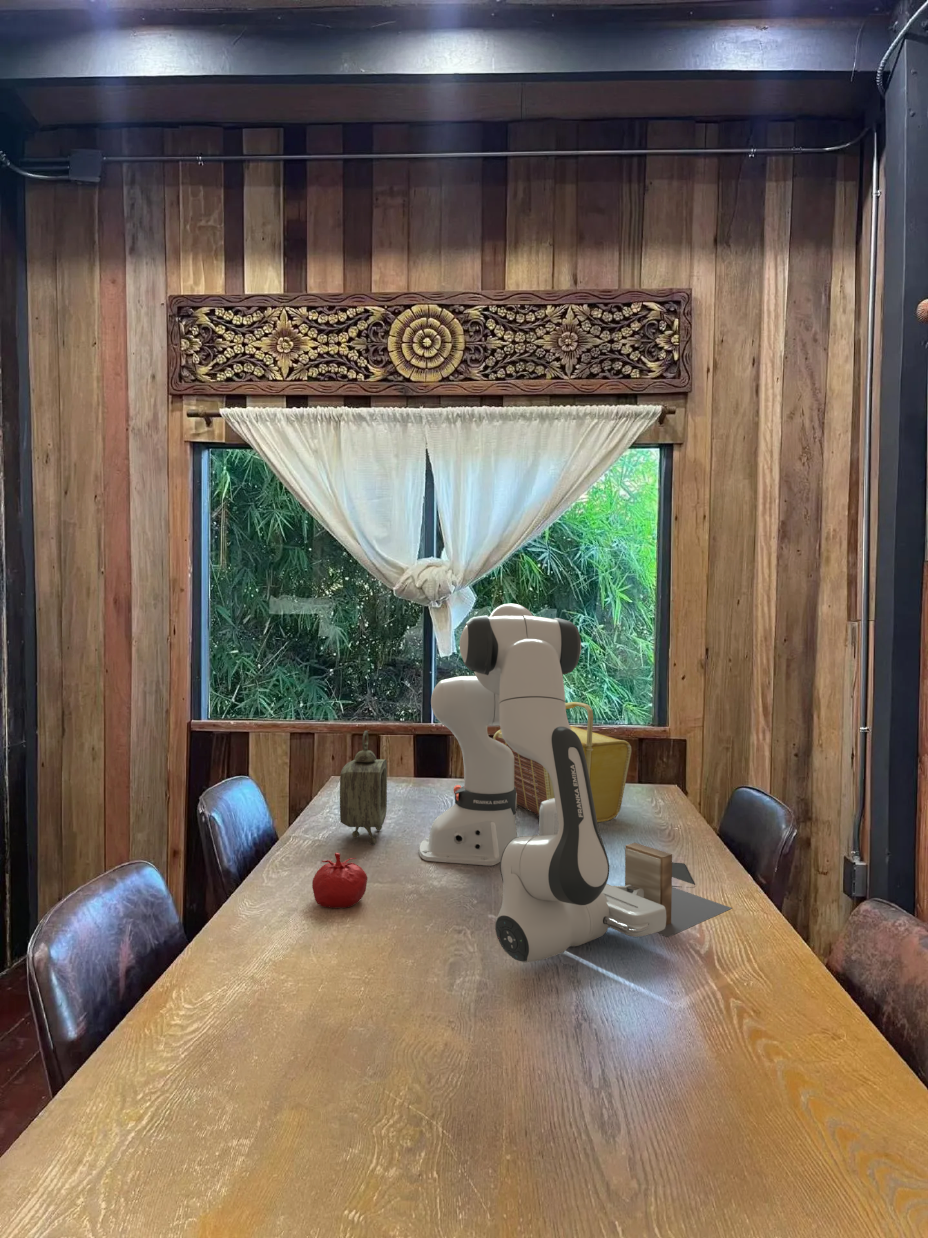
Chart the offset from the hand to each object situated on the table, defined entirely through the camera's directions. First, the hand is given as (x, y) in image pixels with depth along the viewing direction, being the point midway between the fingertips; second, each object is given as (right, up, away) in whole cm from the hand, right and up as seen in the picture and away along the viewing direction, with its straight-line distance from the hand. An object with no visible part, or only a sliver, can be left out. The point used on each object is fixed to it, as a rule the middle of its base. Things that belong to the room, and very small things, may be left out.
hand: (637, 891), depth 135 cm
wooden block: (+2, -5, +2) cm, 6 cm away
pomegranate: (-53, -6, +10) cm, 54 cm away
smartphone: (+12, -6, +24) cm, 27 cm away
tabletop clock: (-53, -4, +48) cm, 72 cm away
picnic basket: (-5, -4, +70) cm, 70 cm away
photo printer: (-8, -5, +37) cm, 38 cm away
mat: (+7, -6, +6) cm, 11 cm away
